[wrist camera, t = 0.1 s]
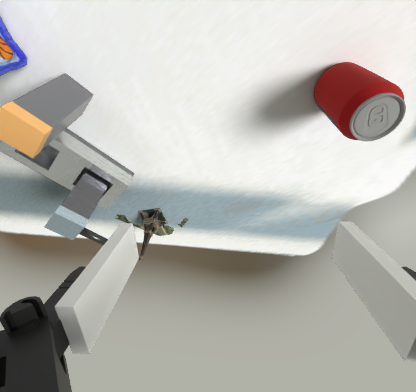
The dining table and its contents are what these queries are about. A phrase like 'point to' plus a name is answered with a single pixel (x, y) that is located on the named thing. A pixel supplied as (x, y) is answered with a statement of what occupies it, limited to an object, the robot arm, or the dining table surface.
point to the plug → (42, 114)
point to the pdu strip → (76, 180)
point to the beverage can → (359, 101)
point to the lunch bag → (9, 52)
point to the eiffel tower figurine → (152, 225)
